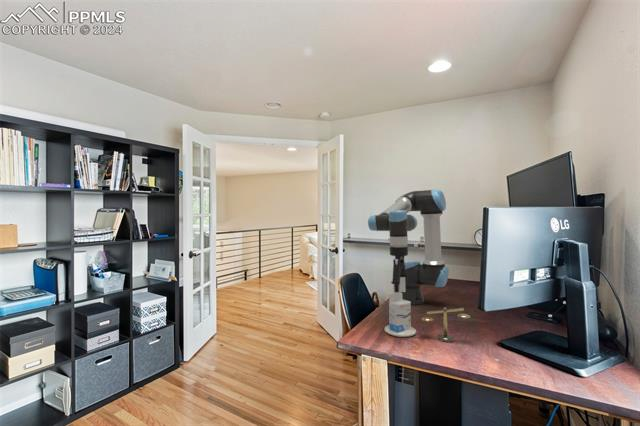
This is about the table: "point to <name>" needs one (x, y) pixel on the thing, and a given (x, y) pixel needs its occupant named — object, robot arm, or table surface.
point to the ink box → (399, 314)
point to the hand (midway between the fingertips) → (399, 295)
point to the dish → (401, 334)
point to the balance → (445, 322)
